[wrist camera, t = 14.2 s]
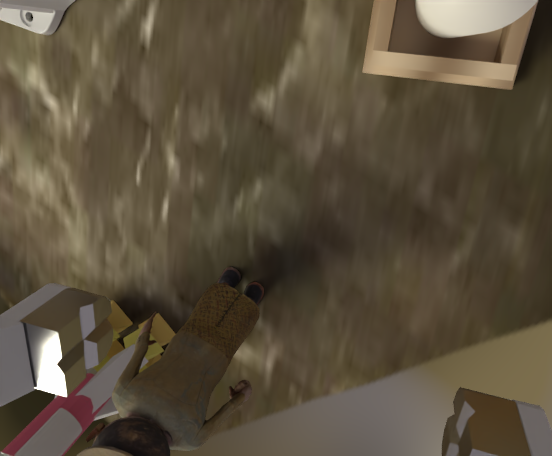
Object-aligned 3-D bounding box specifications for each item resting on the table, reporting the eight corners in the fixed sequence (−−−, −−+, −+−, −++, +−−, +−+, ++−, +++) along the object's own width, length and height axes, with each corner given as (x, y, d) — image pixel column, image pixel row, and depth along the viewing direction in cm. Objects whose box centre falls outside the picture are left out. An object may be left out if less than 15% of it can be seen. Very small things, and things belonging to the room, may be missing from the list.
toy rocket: (136, 393, 59) (-94, 686, 32) (77, 324, 57) (-220, 573, 30) (198, 361, 53) (-14, 679, 27) (135, 284, 52) (-161, 542, 25)
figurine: (179, 299, 50) (-80, 584, 24) (213, 238, 46) (-57, 503, 20) (261, 353, 50) (91, 704, 23) (303, 297, 46) (153, 648, 19)
